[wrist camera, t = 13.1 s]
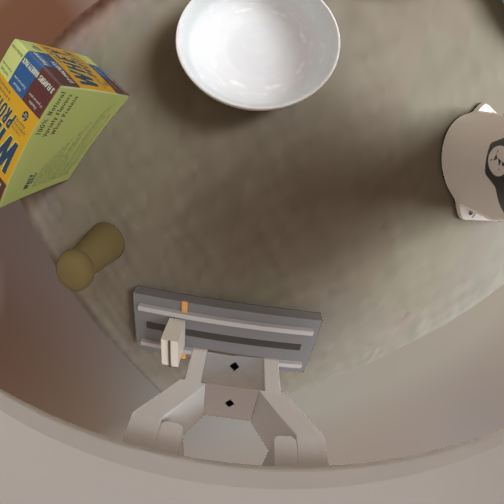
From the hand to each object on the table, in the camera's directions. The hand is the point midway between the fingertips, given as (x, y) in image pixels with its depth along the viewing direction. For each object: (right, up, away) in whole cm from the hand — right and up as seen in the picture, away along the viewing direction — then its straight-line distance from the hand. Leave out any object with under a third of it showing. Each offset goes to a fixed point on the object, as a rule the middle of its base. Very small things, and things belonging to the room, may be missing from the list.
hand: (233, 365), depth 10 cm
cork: (-21, +6, +30) cm, 37 cm away
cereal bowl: (+1, +28, +20) cm, 35 cm away
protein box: (-24, +23, +23) cm, 40 cm away
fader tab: (-11, -8, +33) cm, 36 cm away
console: (-4, -8, +35) cm, 36 cm away
